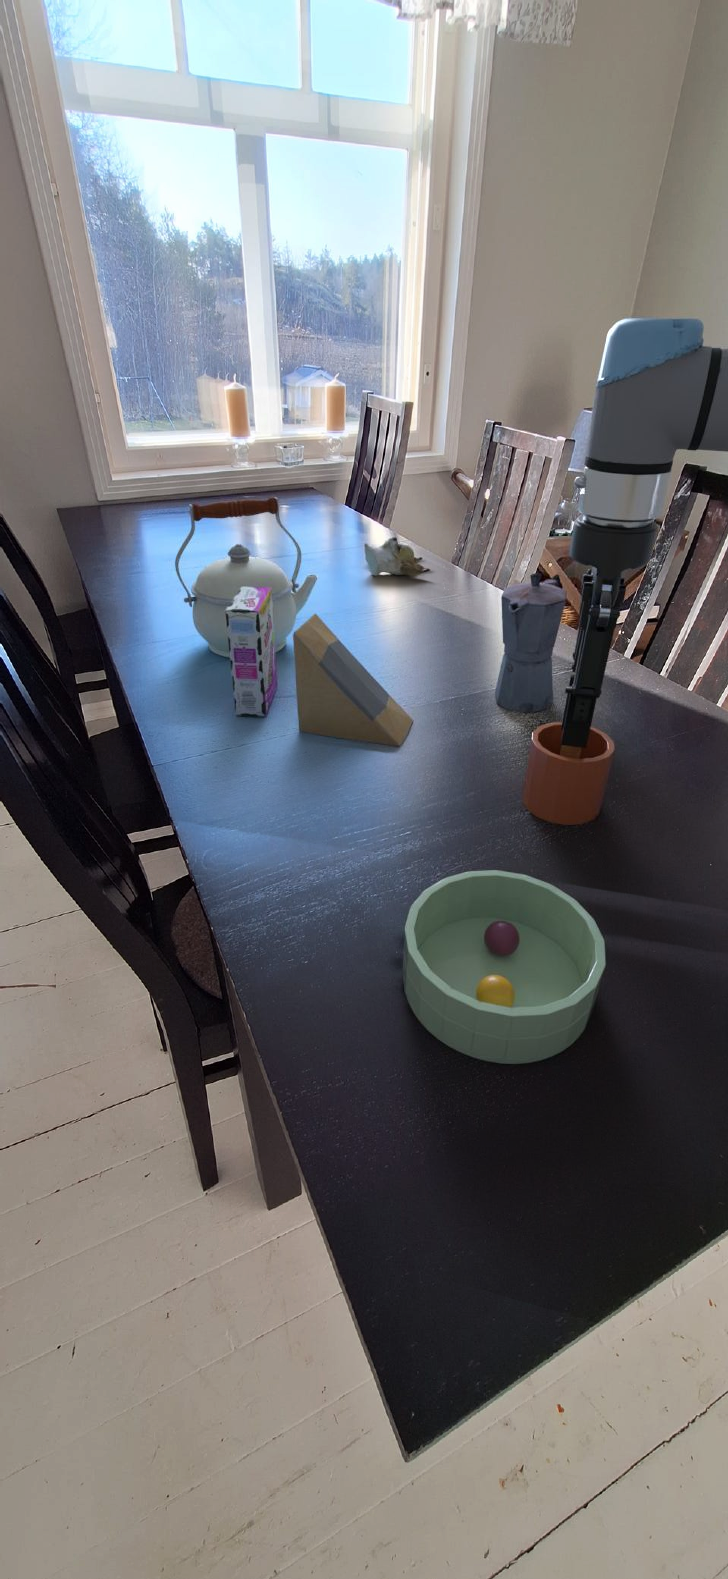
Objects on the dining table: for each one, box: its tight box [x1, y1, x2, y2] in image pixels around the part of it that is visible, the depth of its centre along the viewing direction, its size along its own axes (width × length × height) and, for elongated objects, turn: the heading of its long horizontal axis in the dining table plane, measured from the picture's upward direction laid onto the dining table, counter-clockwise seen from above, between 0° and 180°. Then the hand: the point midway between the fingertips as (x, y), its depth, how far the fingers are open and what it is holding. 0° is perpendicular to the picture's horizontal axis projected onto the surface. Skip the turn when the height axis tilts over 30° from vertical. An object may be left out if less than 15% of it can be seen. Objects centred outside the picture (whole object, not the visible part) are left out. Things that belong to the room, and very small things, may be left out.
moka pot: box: [494, 572, 568, 713], centre depth 103 cm, size 10×15×20 cm, turn 145°
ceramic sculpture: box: [363, 536, 431, 577], centre depth 161 cm, size 11×9×15 cm
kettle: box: [174, 496, 319, 659], centre depth 121 cm, size 25×18×25 cm
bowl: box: [401, 869, 607, 1065], centre depth 60 cm, size 17×17×6 cm
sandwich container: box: [292, 612, 414, 747], centre depth 97 cm, size 9×15×15 cm, turn 73°
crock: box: [521, 721, 615, 826], centre depth 81 cm, size 9×9×10 cm
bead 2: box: [476, 975, 515, 1008], centre depth 58 cm, size 3×3×3 cm
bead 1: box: [484, 921, 520, 956], centre depth 63 cm, size 3×3×3 cm
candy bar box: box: [225, 587, 278, 718], centre depth 103 cm, size 11×5×16 cm, turn 177°
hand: (573, 736), depth 78 cm, fingers open, 3 cm apart
